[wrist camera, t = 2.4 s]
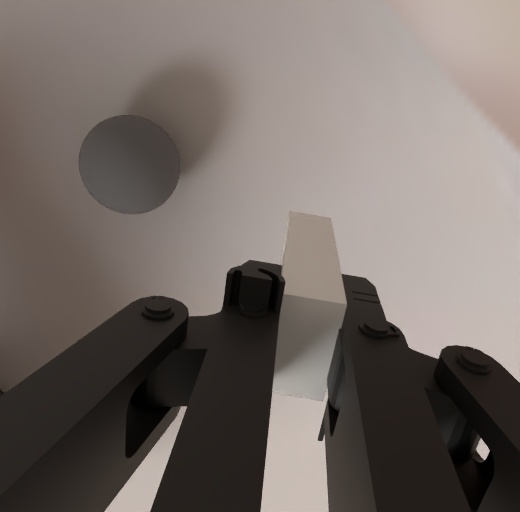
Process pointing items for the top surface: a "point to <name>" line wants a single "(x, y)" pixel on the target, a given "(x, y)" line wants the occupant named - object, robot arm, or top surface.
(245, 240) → the top surface
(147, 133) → the dark gray ball
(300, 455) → the top surface
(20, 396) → the robot arm
